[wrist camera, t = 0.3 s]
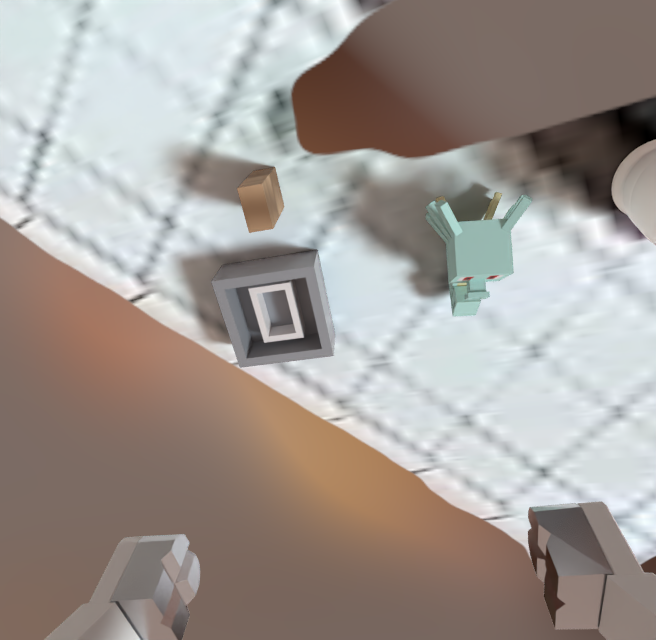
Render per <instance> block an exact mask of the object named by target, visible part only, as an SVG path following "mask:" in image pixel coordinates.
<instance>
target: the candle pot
mask: <svg viewBox="0 0 656 640" xmlns="http://www.w3.org/2000/svg"><path fill="white" fill-rule="evenodd" d="M211 283H212V285H213V288H214V291H215V294H216V297H217V300H218V303H219V306H220V309H221V312H222V315H223V318H224V321H225V324H226V327H227V330H228V333H229V336H230V339H231V342H232V345H233V348H234V351H235V354H236V357H237V360H238V363H239V366H240V368H241V367H249V366H257V365H265V364H273V363H281V362H289V361H297V360H305V359H313V358H321V357H328V356H334V344H335V331H334V326H333V322H332V317H331V312H330V307H329V302H328V298H327V293H326V288H325V283H324V279H323V274H322V269H321V264H320V260H319V255H318V250H314V251H307V252H301V253H295V254H289V255H282V256H276V257H270V258H263V259H257V260H251V261H244V262H238V263H232V264H226V265H222V266H221V268H220V269H219V271H218V272H217V274H216V275H215V277H214V278H213V280H212V281H211Z"/></svg>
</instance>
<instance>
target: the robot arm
mask: <svg viewBox="0 0 656 640" xmlns="http://www.w3.org/2000/svg"><path fill="white" fill-rule="evenodd" d="M528 519H529V522H530V525H531V527H532V528H531V529H530V530H529V531H528V544H529V550H530V556H531V560H532V563H533V567H534V570H535V572H536V576H537V577H538V578H539V579H540V580H541V581H542V582H544V599H545V602H546V605H547V608H548V610H549V613H550V616H551V619H552V622H553V625H554V628H555V629H599V632H600V633H601V634H602V635H603V636H604V637H605V638H606V639H607V640H656V575H654V574H653V573H644V571H643V570H642V568H641V566H640V564H639V562H638V561H637V559H636V557H635V555H634V553H633V552H632V550H631V548H630V546H629V544H628V543H627V541H626V539H625V537H624V536H623V534H622V532H621V530H620V528H619V527H618V525H617V523H616V521H615V519H614V518H613V516H612V514H611V512H610V511H609V509H608V507H607V505H605V504H604V503H603V502H589V503H578V504H576V503H570V504H559V505H548V506H537V507H530V508H529V510H528ZM188 545H189V541H188V540H187V538H186V536H185V534H180V535H159V536H140V537H126V538H124V539H123V540H122V541H121V542H120V543H119V544H118V546H117V548H116V550H115V552H114V554H113V556H112V558H111V560H110V562H109V563H108V565H107V568H106V569H105V571H104V573H103V575H102V577H101V579H100V581H99V583H98V585H97V587H96V589H95V591H94V593H93V596H92V598H91V599H90V601H89V603H88V604H82V605H81V606H80V607H79V608H78V609H77V610H76V611H75V612H74V613H73V614H71V615H70V616H69V617H68V618H67V619H66V620H65V621H64V622H63V623H62V624H61V625H59V626H58V627H57V628H56V629H55V630H54V631H53V632H52V633H51V634H50V635H49V636H48V637H46V638H45V639H44V640H182V638H183V635H184V632H185V629H186V625H187V622H188V619H189V616H190V614H189V611H188V608H187V604H188V603H189V602H190V601H191V600H192V599H193V598H194V597H195V596H196V592H197V589H198V586H199V579H200V567H199V561H198V559H197V557H196V555H195V554H194V553H192V552H191V551H189V550H187V548H188Z"/></svg>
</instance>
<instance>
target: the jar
mask: <svg viewBox="0 0 656 640" xmlns="http://www.w3.org/2000/svg"><path fill="white" fill-rule="evenodd" d="M611 191H612V198H613V201H614V203H615V205H616V206H617V207H618V209H619V210H621V211H622V212H623V213H625V214H627V215H628V216H629V218H630V219H631V221H632V222H633V223H634V224H635V225H636V226H637V227H638V228H639V230H640V231H641V232H642V233H643V235H644V236H645V237H646V238H647V239H648V240H650V241H651V242H652V243H653V244H655V245H656V140H653V141H650V142H647V143H645V144H643V145H641V146H640V147H638V148H636V149H635V150H634V151H632V152H631V153H630V154H629V155H628V156H627V157H626V158H625V159H624V160H623V161H622V163H621V164H620V165H619V167H618V169H617V171H616V173H615V175H614V178H613V181H612V188H611Z"/></svg>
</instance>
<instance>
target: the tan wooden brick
mask: <svg viewBox="0 0 656 640" xmlns="http://www.w3.org/2000/svg"><path fill="white" fill-rule="evenodd" d="M237 190H238V194H239V198H240V201H241V205H242V208H243V212H244V216H245V219H246V223H247V227H248V230H249V233H251V232H257V231H263V230H269V229H273V228H274V226H275V224H276V222H277V220H278V218H279V216H280V214H281V212H282V210H283V208H284V203H283V199H282V195H281V190H280V186H279V182H278V178H277V173H276V169H275V167H273V168H267V169H262V170H256V171H253V172H252V173H251V174H250V175H249V176H248V177H247V178H246V179H245V180H244V181H243V182H242V184H241V185H240V186H239V187H238V188H237Z"/></svg>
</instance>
